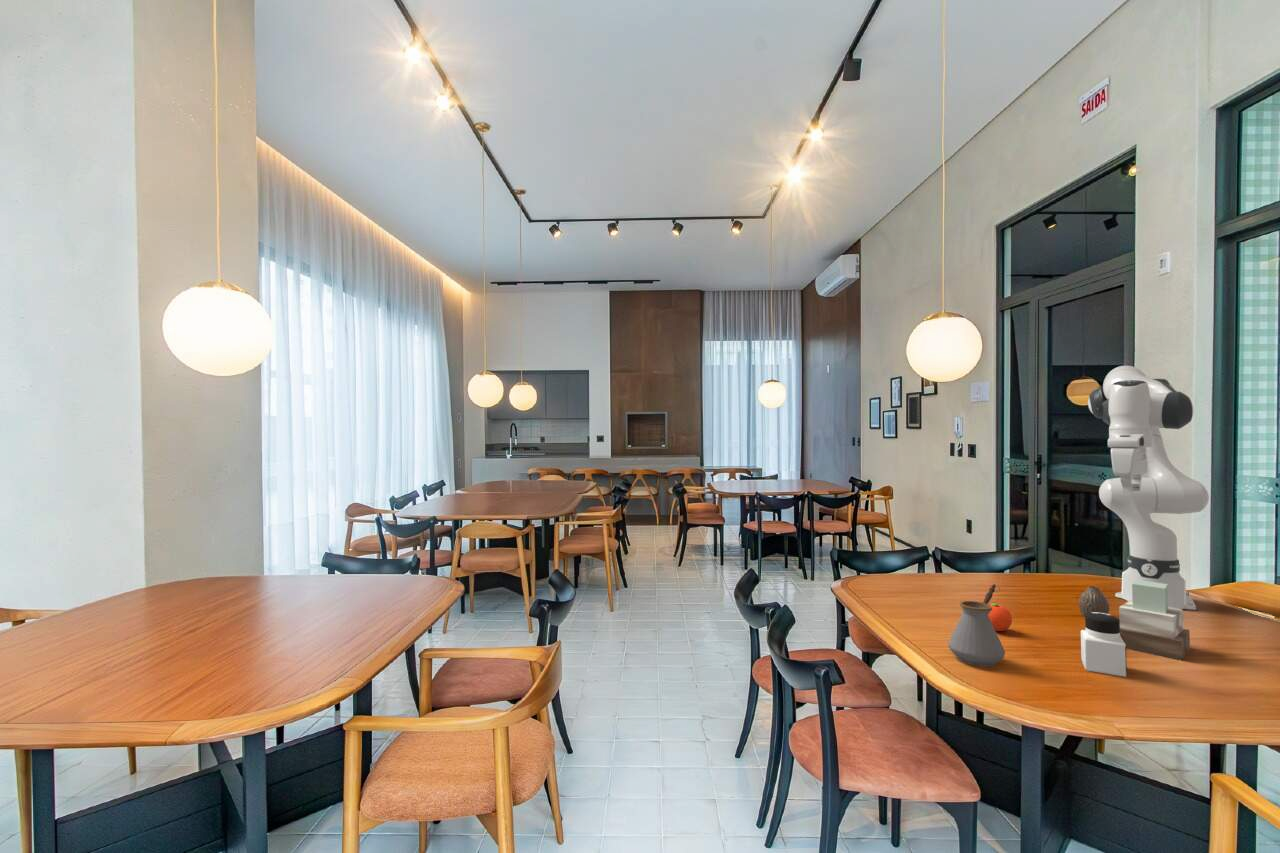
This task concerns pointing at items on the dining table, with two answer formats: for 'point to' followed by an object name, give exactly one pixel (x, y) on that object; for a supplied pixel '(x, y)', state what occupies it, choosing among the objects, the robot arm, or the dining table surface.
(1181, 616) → the tower top
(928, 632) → the dining table surface
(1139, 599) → the sage cube
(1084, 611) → the brown ridged oval lump
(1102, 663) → the medicine bottle
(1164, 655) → the tower base
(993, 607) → the clementine
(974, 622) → the coffee pot
